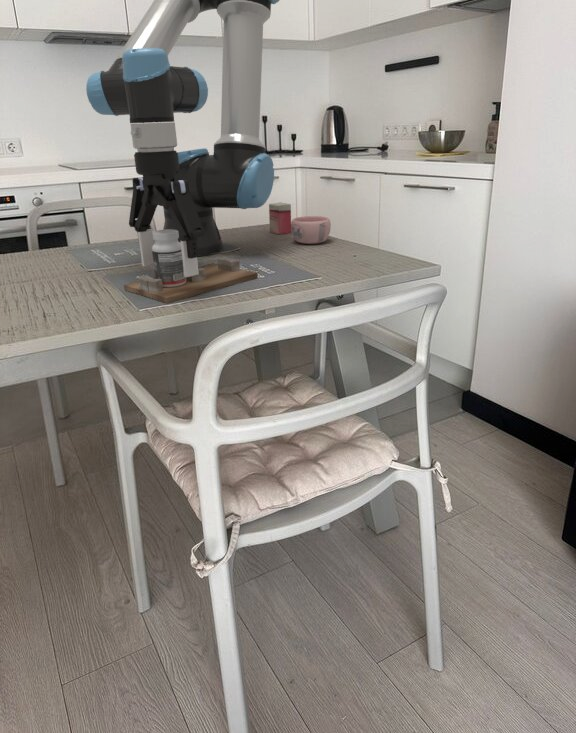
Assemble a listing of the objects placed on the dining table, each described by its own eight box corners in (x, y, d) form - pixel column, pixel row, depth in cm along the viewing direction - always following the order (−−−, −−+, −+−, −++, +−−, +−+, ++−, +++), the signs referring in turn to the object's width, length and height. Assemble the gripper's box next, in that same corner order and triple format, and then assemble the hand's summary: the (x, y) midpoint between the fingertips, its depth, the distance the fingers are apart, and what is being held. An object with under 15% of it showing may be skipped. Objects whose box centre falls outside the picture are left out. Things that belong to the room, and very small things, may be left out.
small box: (269, 232, 161) (268, 203, 158) (281, 230, 164) (281, 202, 160) (279, 235, 158) (278, 205, 154) (292, 233, 160) (291, 203, 157)
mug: (338, 242, 146) (338, 218, 144) (309, 248, 140) (308, 223, 138) (308, 236, 155) (307, 213, 152) (278, 241, 149) (278, 218, 147)
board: (124, 290, 110) (122, 274, 109) (213, 267, 125) (212, 254, 124) (167, 303, 101) (165, 286, 100) (257, 277, 116) (256, 263, 115)
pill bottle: (158, 280, 112) (151, 229, 108) (187, 279, 112) (182, 228, 108) (154, 288, 107) (147, 235, 103) (185, 287, 107) (179, 233, 103)
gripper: (99, 150, 105) (117, 264, 114) (180, 152, 89) (194, 284, 98) (135, 148, 110) (149, 257, 119) (218, 149, 94) (227, 275, 103)
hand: (169, 270), depth 108 cm, fingers open, 13 cm apart
